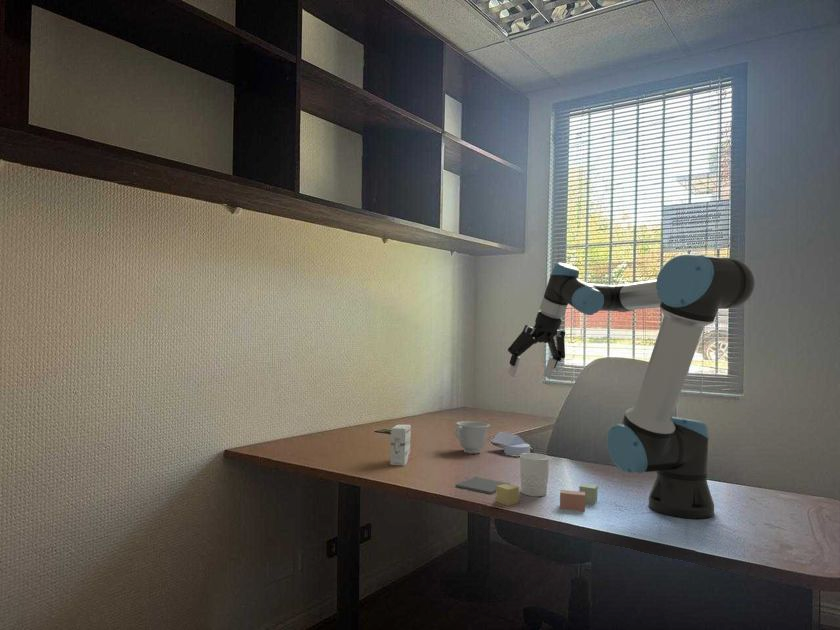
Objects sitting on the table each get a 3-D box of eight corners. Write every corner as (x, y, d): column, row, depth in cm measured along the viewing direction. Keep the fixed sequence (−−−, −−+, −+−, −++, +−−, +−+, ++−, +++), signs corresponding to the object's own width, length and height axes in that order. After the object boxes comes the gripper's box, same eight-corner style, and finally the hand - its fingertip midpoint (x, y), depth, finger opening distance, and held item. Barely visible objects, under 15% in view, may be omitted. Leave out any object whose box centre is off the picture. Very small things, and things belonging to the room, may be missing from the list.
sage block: (597, 500, 156) (597, 484, 156) (594, 504, 152) (595, 488, 152) (581, 497, 157) (582, 482, 157) (579, 501, 154) (579, 486, 154)
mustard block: (518, 502, 151) (518, 487, 151) (507, 505, 149) (508, 489, 149) (506, 499, 154) (506, 483, 154) (496, 501, 152) (496, 486, 152)
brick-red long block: (584, 508, 149) (584, 492, 149) (584, 511, 146) (585, 495, 146) (560, 505, 150) (560, 489, 150) (559, 509, 147) (560, 492, 147)
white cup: (513, 490, 162) (514, 453, 163) (537, 488, 165) (538, 452, 165) (529, 498, 155) (530, 460, 155) (554, 496, 158) (555, 458, 158)
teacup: (442, 452, 208) (443, 423, 208) (469, 446, 219) (470, 419, 219) (469, 458, 200) (470, 428, 200) (495, 452, 211) (496, 424, 211)
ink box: (396, 459, 196) (397, 423, 196) (410, 460, 195) (411, 424, 195) (389, 465, 187) (390, 427, 187) (404, 466, 186) (405, 428, 186)
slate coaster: (509, 485, 167) (509, 483, 167) (491, 494, 158) (491, 491, 158) (475, 478, 173) (475, 476, 173) (455, 486, 164) (455, 484, 164)
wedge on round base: (490, 451, 213) (517, 458, 203) (491, 432, 213) (518, 438, 203) (508, 448, 219) (535, 455, 209) (508, 430, 219) (535, 435, 209)
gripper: (576, 312, 187) (554, 371, 193) (510, 304, 176) (489, 367, 183) (590, 322, 180) (567, 383, 187) (523, 314, 169) (501, 379, 176)
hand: (529, 375), depth 185 cm, fingers open, 13 cm apart
